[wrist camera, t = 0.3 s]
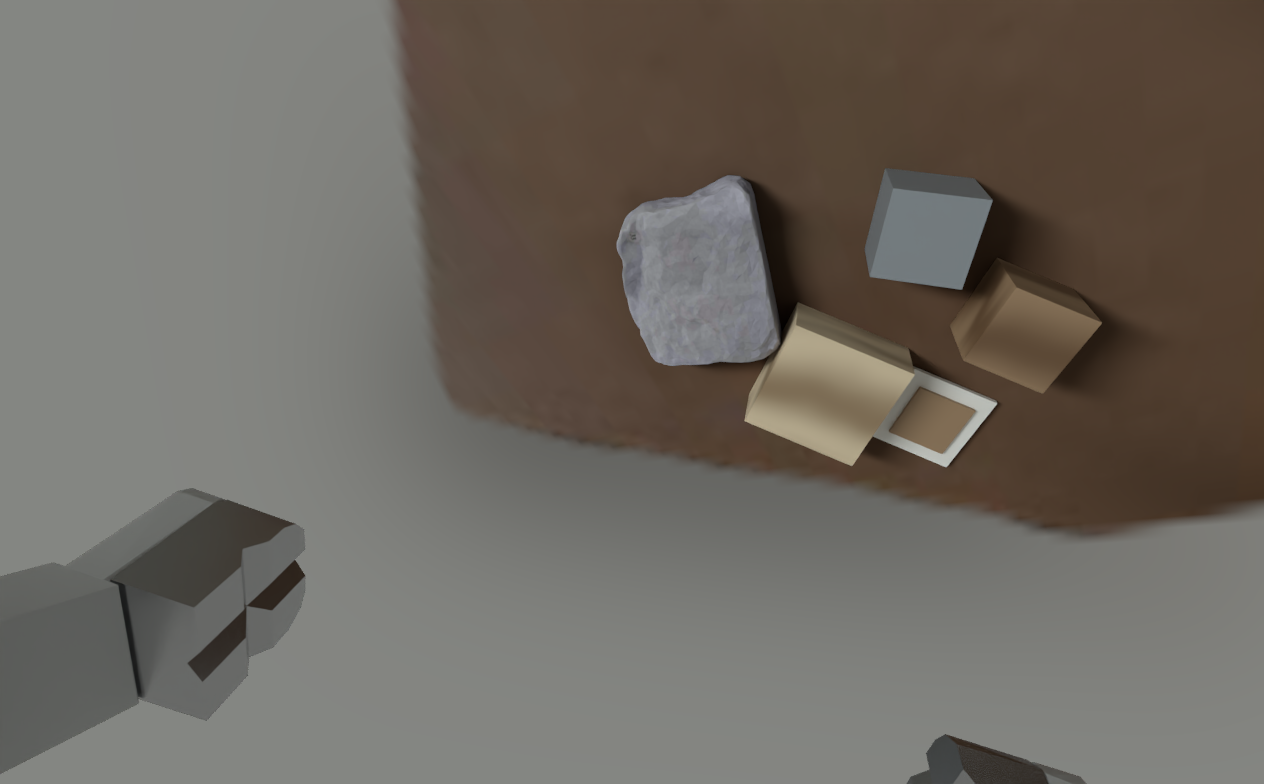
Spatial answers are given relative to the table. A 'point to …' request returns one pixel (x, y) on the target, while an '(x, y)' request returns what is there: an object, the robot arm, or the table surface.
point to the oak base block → (828, 384)
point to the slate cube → (926, 228)
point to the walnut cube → (1022, 326)
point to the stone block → (701, 276)
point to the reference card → (934, 417)
